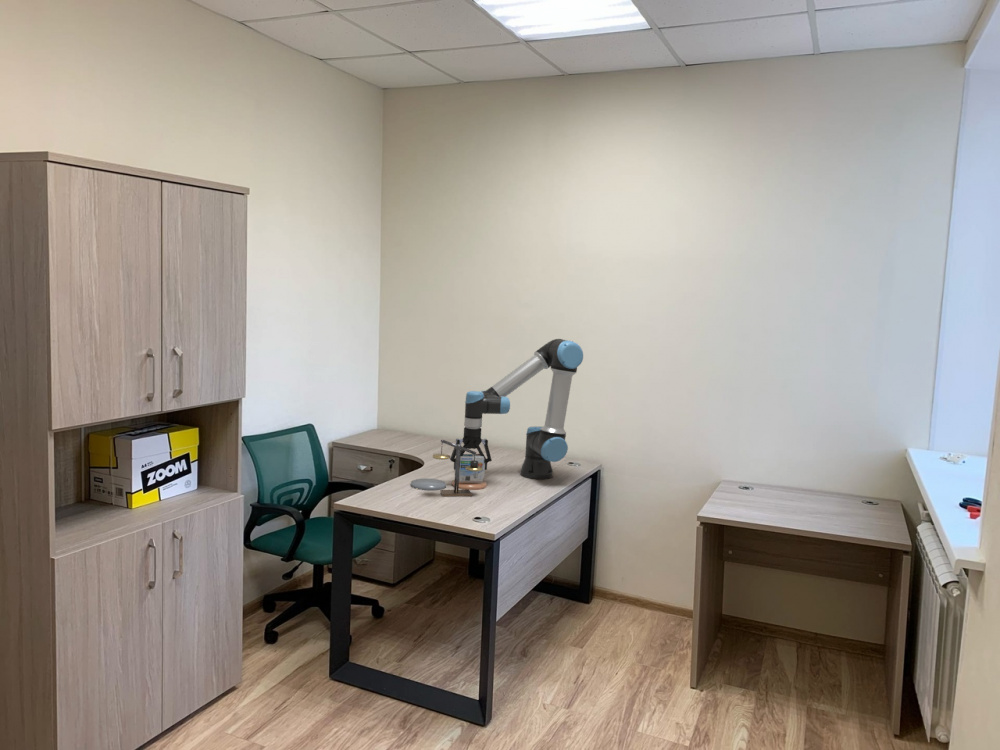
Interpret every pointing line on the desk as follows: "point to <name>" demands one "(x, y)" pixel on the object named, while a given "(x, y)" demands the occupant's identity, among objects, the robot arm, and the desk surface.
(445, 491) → the balance
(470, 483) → the terracotta dish
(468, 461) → the light bulb box
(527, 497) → the desk surface
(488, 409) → the robot arm
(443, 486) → the slate dish
